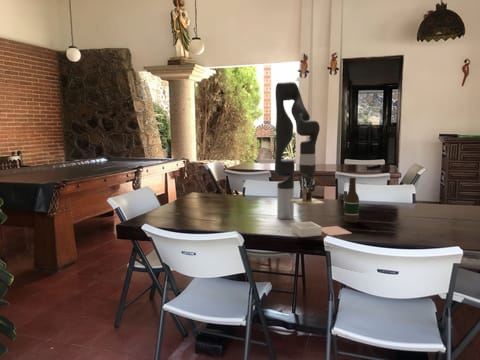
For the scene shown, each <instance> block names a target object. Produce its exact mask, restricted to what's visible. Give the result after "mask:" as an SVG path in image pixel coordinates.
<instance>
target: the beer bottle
mask: <svg viewBox="0 0 480 360" xmlns="http://www.w3.org/2000/svg"><path fill="white" fill-rule="evenodd" d="M348 180H349V182H348V192H347V193H346V196H345V198H344V215H343V216H344V217H343V221H344V222H347V223H352V224H353V223H358V222H359V214H360V213H359V212H360V211H359V210H360V209H359V208H360V198H359V195H358V193H357V190H356V186H357V184H356V181H357V177H352V176H351V177H349V179H348Z"/></svg>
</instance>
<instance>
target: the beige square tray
mask: <svg viewBox="0 0 480 360" xmlns="http://www.w3.org/2000/svg"><path fill="white" fill-rule="evenodd" d="M322 227H323V226H321V225H319V224H317V223H315V222H312V221H302V222H293V223H292V222H291V233H293V234H295V235H296V236H297V237H300V238H309V237H318V236H322V231H321V228H322Z"/></svg>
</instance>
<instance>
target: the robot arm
mask: <svg viewBox="0 0 480 360" xmlns="http://www.w3.org/2000/svg"><path fill="white" fill-rule="evenodd" d="M284 101H293V103H292V106H291V110H290V113H291V114H292V117H293V119H294V121H295V126H296V127H295V128H296V133H297V134H298V136H301V137H308V139H307V140H303V141H301V142H300V145H299V147H300V148H299V166H298V167H299V172H298V173H299V174H301V176H298V182H299V186H300V190H302V192H303V188H306V191H307V196H306V200H311V192H312V193H313V192H315V189H316V186H317V185H316V184H317V180H316V179H315V180H314V175H315V174H316V167H317V165H316V162H317V159H316V158H317V157H316V146H317V145H316V144H317V141H318V138H319V137H318V136H319V132H320V128H321V127H320V124H319V122H318V121H317V120H310V118H311V116H310V114H309V112H308V110H307V108H306V107H305V105H304V102H303V98H302V95H301V91H300V90H299V87H298V84H297V83H296V82H295V81H285V82H284V81H282V82H277V84H276V86H275V107H276V111H275V112H276V117H275V118H276V119H275V120H276V122H275V158H274V159H275V161H274V173H275V175H276V176H277V177H287V178H286V179H284V180H282V181H279V182H277V187H276V189H277V191H276V192H277V194H276V195H277V198H276V199H277V211H276V213H277V214H276V215H277V219H280V220H292V219H294V217H295V216H294V215H295V213H294V212H295V207H294V206H295V203H293V202H291V201H290V199H295V161H294V160H293V159H287V158H286V159H282V158H283V154H284V152H285V150H286V149H287V147H288V146H289V144H290V143H291V141H292V140H293V137H294V124H293V121H292V119H291V117H290V116H289V115H288V113H287V111H286V109H285V104H284V103H285V102H284ZM308 188H309V189H308Z"/></svg>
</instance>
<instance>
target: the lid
mask: <svg viewBox="0 0 480 360" xmlns="http://www.w3.org/2000/svg"><path fill="white" fill-rule="evenodd" d="M308 189H309V188H308ZM312 193H313V192H311V200H306V196H307V191H306V188H303V191H302V197H301V198H294V199H290V201H291V202H293V203H294V204H295V205H298V206H300V207H303V206H304V207H306V206H315V205H316V206H317V205H325V202H324V201H321V200H319V199H317V198H313V197H312V196H313V195H312Z"/></svg>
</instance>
